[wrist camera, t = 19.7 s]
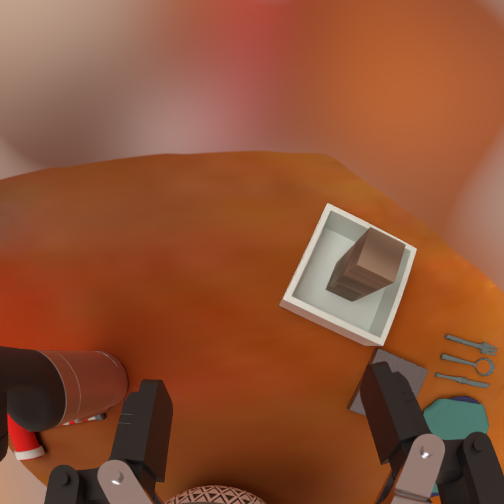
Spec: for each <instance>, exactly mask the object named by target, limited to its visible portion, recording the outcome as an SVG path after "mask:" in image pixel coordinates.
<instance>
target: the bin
mask: <svg viewBox="0 0 504 504" xmlns="http://www.w3.org/2000/svg"><path fill="white" fill-rule="evenodd" d="M370 227H372V228H374V229H376V230H378V231H380V232H382V233H384V234H386V235H388V236H390V237H392V238H394V239H396V240H398V241H400V242H402V243H404V244H406V246H405V249H404V253H403V256H402V260H401V263H400V266H399V270H398V273H397V276H396V279H395V282H394V283H392V284H390V285H388V286H386V287H384V288H382V289H380V290H377V291H375V292H373V293H371V294H369V295H367V296H364V297H362V298H360V299H358V300H355V301H353V302H351V301H349V300H347V299H344V298H342V297H340V296H338V295H336V294H334V293H331V292H329V291H327V290H325V289H326V287H327V284H328V282H329V280H330V277H331V275H332V272H333V270H334V267H335V265H336V263H337V262H338V260H339V259H340V258H341V257H342V256H343V255H344V254H345V253H346V252H347V251H348V250H349V249H350V248H351V247H352V246H353V245H354V244H355V243H356V242H357V240H358V239H359V238H360V237H361V236H362V235H363V234H364V233H365V232H366V231H367V230H368V229H369V228H370ZM416 250H417V249H416V248H414V247H413V246H411V245H409V244H407V243H405V242H403V241H402V240H400V239H398V238H396V237H394V236H392V235H390V234H388V233H387V232H385V231H383V230H381V229H379V228H377V227H375V226H373V225H371V224H369V223H367V222H365V221H363V220H361V219H359V218H357V217H355V216H353V215H351V214H349V213H347V212H345V211H343V210H341V209H339V208H337V207H335V206H333V205H331V204H329V203H327V205H326V207H325V209H324V211H323V213H322V215H321V218H320V220H319V222H318V224H317V226H316V228H315V230H314V233H313V235H312V237H311V239H310V241H309V243H308V246H307V248H306V250H305V252H304V254H303V256H302V258H301V261H300V263H299V265H298V267H297V269H296V271H295V273H294V275H293V277H292V279H291V281H290V284H289V286H288V288H287V290H286V292H285V294H284V296H283V298H282V300H281V302H280V304H279V306H281V307H283V308H285V309H287V310H289V311H291V312H293V313H295V314H298V315H300V316H302V317H304V318H306V319H308V320H310V321H312V322H314V323H316V324H319V325H321V326H323V327H325V328H327V329H329V330H331V331H334V332H336V333H338V334H340V335H342V336H344V337H347V338H349V339H351V340H353V341H355V342H358V343H360V344H362V345H364V346H383V345H384V342H385V340H386V337H387V335H388V332H389V330H390V327H391V325H392V322H393V319H394V317H395V314H396V311H397V309H398V306H399V303H400V300H401V297H402V295H403V292H404V289H405V286H406V283H407V279H408V276H409V273H410V270H411V267H412V263H413V260H414V257H415V253H416Z"/></svg>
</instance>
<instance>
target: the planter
mask: <svg viewBox="0 0 504 504" xmlns="http://www.w3.org/2000/svg"><path fill="white" fill-rule="evenodd" d="M164 504H267V503H266V502H264V501H263V500H261V499H260V498H259V497H257V496H255V495H253V494H251V493H249V492H247V491H244V490H241V489H238V488H234V487H229V486H221V485H208V486H200V487H195V488H192V489H189V490H186V491H184V492H181V493H179V494H177V495H175V496H174V497H172V498H171V499H169V500H168V501H167V502H165V503H164Z"/></svg>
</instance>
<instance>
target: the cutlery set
mask: <svg viewBox="0 0 504 504" xmlns="http://www.w3.org/2000/svg"><path fill="white" fill-rule="evenodd" d="M445 339H448V340H452V341H455V342H458V343H461V344H465V345H468V346H472V347H476V348H477V349H479V350H480V353H485V354H490V355H496V354H494V353H492V352H497V351H495V350H493V349H497V348H496V347H493V346H491V345H489V344H487V343H485V342H482V343H481V344H476V343H473V342H469V341H466V340H463V339H460V338H457V337H454V336H450V335H445ZM490 348H493V349H490ZM489 351H492V352H489ZM441 359H445V360H450V361H454V362H459V363H464V364H468V365H473V366H474V367H475V368H476V366H477V363H478V362H479V361H480V360H486V361H488V362H489V364H490V366H491V367H490V371H489V372H487V373H486V374H481V373H479V372H478V371H477V373H479V374H481V375H482V376H488V375H490V374H491V373H493V372H494V367H495V366H494V364H493V362H492V361H491V360H489V359H488V358H482V359H480V360H479V361H477V362H476V363H471V362H468V361H465V360H462V359H458V358H455V357H452V356H449V355H445V354H442V355H441ZM476 370H477V368H476ZM437 376H438V377H444V378H448V379H451V380H455V381H457V382H458V383H461V382H462V384H465V383H466V384H469V385H472V386H476V387H482V388H486V387H488V386H490V384H486V383H481V382H475V381H471V380H466V378H465V377H464V378H462V377H452V376H445V375H441V374H438V373H435V376H434V377H437ZM424 418H425V420H426V422H427V425H428V427H429V429H430V431H431V432H432V433H433V434H434V435H436V436H438V437H439V438H441V439H443V440H455V439H465V438H466V437H467V436H468V435H469V434H470V433H472V432H476V431H479V432H483V433H485V434H486V435H487V431H488V428H489V423H488V419H487V416H486V412H485V408H484V405H482V404H479V402H478V401H477V400H475V399H472V398H470V397H468V396H463V397H453V398H450V399H438V400H436V401H434V402H433V403H432V404H431V405H430V406H428V407H427V408H426V409H425V410H424ZM438 495H439V492H438V488H437V484H434V487H433V490H432V492H431V495H430V497H434V496H438Z"/></svg>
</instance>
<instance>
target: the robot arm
mask: <svg viewBox="0 0 504 504" xmlns="http://www.w3.org/2000/svg"><path fill="white" fill-rule="evenodd" d="M127 388H128V380H127V375H126V372H125V369H124V367H123V366H122V364H121V363H120V361H119V360H118V359H117V358H116V357H114V356H113V355H111V354H110V353H107V352H104V351H55V350H29V349H18V348H11V347H2V346H0V461H2V459H3V458H4V457H5V456H6V453H7V449H8V417H7V413H8V414H9V416H10V417H11V418H12V419H13V420H14V421H15V422H16V423H17V424H18V425H19V426H21V427H23V428H24V429H26V430H29V431H34V432H40V431H44V430H48V429H51V428H54V427H57V426H60V425H63V424H66V423H68V422H71V421H75V422H77V423H79V422H82V421H84V420H87V419H89V418H92V417H95V416H97V415H100V414H102V413H105V412H107V411H108V410H109V408H110V407H112V406H114V405H117V404H118V403H120V402H121V401H122V400H123V398H124V397H125V395H126V392H127ZM360 397H361V401H362V404H363V407H364V410H365V413H366V417H367V420H368V423H369V426H370V429H371V432H372V436H373V439H374V442H375V446H376V449H377V452H378V456H379V459H380V463H381V465H383V464H386V463H390V466H391V470H390V472H389V474H388V476H387V478H386V481H385V483H384V485H383V487H382V489H381V491H380V493H379V495H378V497H377V499H376V501H375V503H374V504H432V502H431V500H430V495H431V492H432V490H433V487H434V484H437V488H438V492H439V496H440V500H441V504H504V475H503V473H502V470H501V467H500V464H499V461H498V458H497V456H496V453H495V450H494V448H493V445H492V443H491V440H490V438H489V437H488V436H487V435H486V434H485V433H483V432H479V431H476V432H472V433H470V434H469V435H468V436H467V437H466V438H465V439H455V440H443V439H441V438H439V437H438V436H436V435H434V434H433V433H432V432H431V431H430V429H429V427H428V425H427V422H426V420H425V418H424V415H423V413H422V411H421V408H420V406H419V404H418V402H417V400H416V397H415V395H414V393H413V392H412V388H411V386H410V384H409V382H408V380H407V379H406V378H405V377H404V376H403V375H402V374H401V373H400V372H399V371H397V372H393V373H392V371H391V369H390V366H389V364H388V363H387V362H386V361H382V362H377V363H372V364H368V365H367V367H366V370H365V373H364V376H363V379H362V382H361V386H360ZM121 413H122V414H121V416H120V419H119V424H118V427H117V431H116V435H115V440H114V444H113V448H112V452H111V456H110V458H109V460H108V461H107V462H105V463H104V464H102V466H101V467H99V468H95V469H87V470H77V471H76V470H75V469H73V468H72V467H70V466H68V465H59V466H57V467H55V468H54V469H53V470H52V472H51V474H50V477H49V482H48V487H47V492H46V497H45V503H44V504H164V503H163V501H162V500H161V499H160V497H159V496H158V494H157V493H156V491H155V483H156V482H164V479H165V470H166V461H167V453H168V445H169V437H170V430H171V423H172V416H173V405H172V401H171V398H170V396H169V394H168V392H167V390H166V387H165V385H164V383H163V381H162V380H149V379H144V380H142V382H141V385H140V389H139V392H131V393H130V395H129V396H128V397H127V398H126V400H125V401H124V404H123V408H122V412H121Z"/></svg>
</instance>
